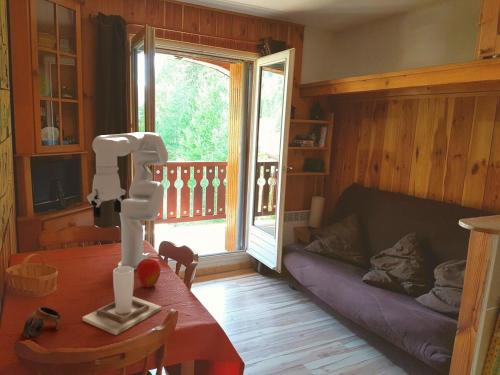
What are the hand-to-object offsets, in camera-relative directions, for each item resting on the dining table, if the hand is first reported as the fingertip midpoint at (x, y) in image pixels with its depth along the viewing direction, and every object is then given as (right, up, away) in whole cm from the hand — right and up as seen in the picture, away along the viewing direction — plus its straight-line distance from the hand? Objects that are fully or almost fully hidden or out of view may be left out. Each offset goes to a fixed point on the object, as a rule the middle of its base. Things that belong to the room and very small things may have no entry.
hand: (107, 214), depth 143 cm
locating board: (+12, -33, -16) cm, 39 cm away
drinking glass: (+12, -32, -16) cm, 38 cm away
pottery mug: (-10, -35, -29) cm, 46 cm away
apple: (+14, -30, +8) cm, 34 cm away
